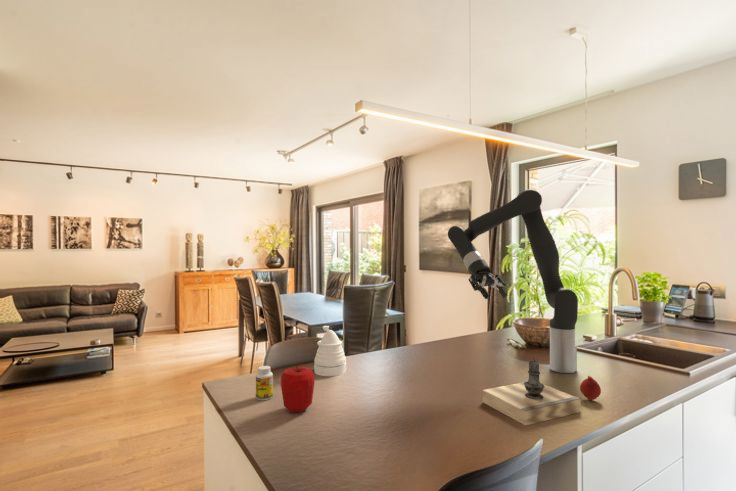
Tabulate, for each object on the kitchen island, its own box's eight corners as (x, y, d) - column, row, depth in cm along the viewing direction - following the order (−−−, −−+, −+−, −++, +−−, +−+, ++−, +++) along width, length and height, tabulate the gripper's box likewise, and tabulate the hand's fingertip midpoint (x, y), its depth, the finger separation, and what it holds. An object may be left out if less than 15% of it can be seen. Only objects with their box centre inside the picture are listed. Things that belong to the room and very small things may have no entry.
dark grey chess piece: (546, 400, 118) (546, 360, 119) (525, 399, 120) (525, 359, 120) (542, 393, 124) (541, 355, 124) (522, 392, 125) (522, 354, 125)
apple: (298, 419, 115) (298, 373, 115) (273, 412, 121) (273, 367, 121) (321, 407, 124) (321, 364, 124) (297, 400, 130) (296, 359, 130)
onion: (598, 398, 130) (598, 373, 130) (602, 404, 125) (602, 379, 125) (578, 396, 132) (578, 372, 132) (582, 402, 127) (581, 377, 127)
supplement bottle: (252, 400, 130) (252, 369, 130) (261, 394, 136) (261, 364, 136) (267, 402, 129) (267, 370, 129) (276, 395, 134) (275, 365, 134)
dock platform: (533, 391, 136) (533, 379, 136) (580, 412, 120) (580, 398, 120) (482, 402, 127) (482, 389, 127) (525, 425, 111) (525, 410, 111)
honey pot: (308, 374, 157) (308, 328, 157) (323, 364, 169) (323, 322, 169) (337, 377, 152) (337, 331, 152) (351, 368, 164) (351, 324, 164)
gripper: (466, 259, 152) (486, 291, 142) (494, 258, 158) (516, 289, 148) (457, 272, 157) (477, 304, 147) (485, 270, 163) (506, 302, 153)
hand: (496, 297), depth 147 cm, fingers open, 8 cm apart
